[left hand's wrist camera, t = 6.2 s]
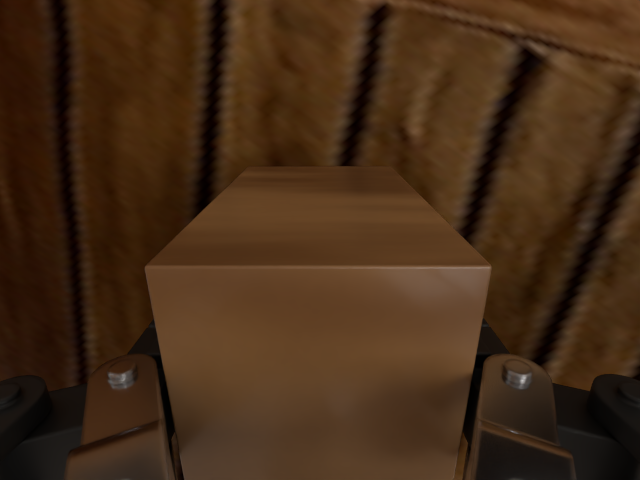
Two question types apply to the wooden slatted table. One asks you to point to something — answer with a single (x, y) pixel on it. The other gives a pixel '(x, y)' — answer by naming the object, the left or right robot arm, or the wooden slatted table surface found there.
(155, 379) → the left robot arm
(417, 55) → the wooden slatted table surface
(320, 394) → the box
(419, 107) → the wooden slatted table surface
